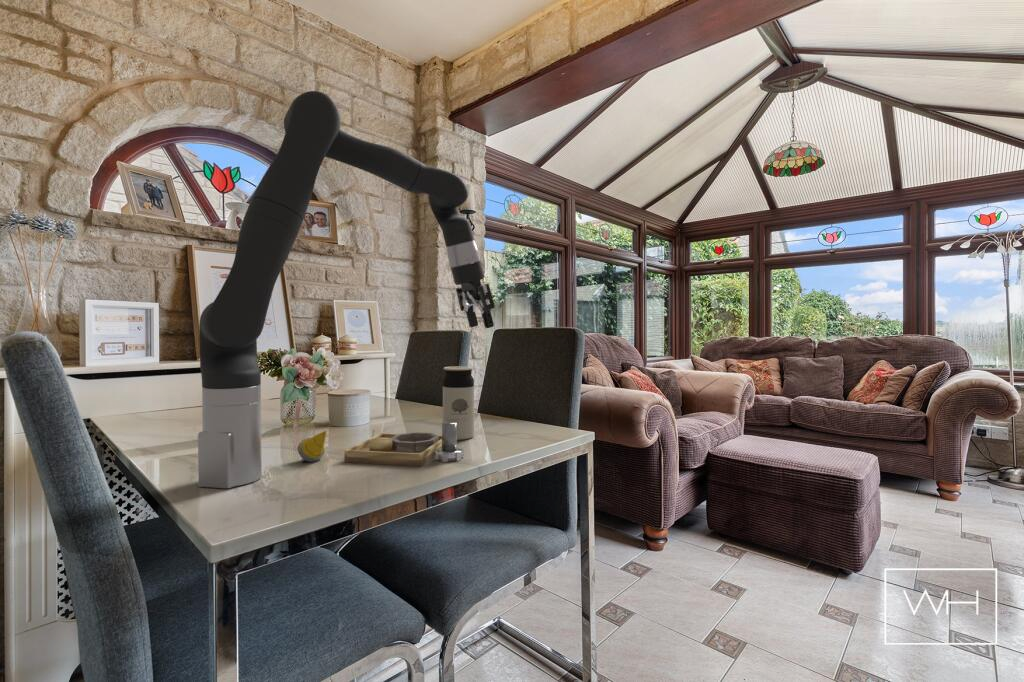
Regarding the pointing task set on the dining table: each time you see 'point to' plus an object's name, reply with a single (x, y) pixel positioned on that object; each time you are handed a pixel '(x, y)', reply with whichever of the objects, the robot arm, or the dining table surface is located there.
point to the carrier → (395, 449)
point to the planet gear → (449, 444)
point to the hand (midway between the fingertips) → (481, 326)
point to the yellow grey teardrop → (312, 448)
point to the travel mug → (459, 400)
